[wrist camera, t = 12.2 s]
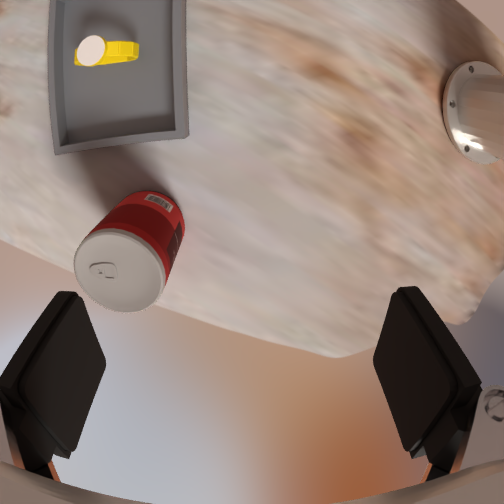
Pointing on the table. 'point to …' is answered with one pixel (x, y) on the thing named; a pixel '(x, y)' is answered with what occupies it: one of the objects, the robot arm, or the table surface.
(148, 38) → the tray
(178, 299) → the table surface
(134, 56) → the watch
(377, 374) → the robot arm
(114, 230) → the canned food
